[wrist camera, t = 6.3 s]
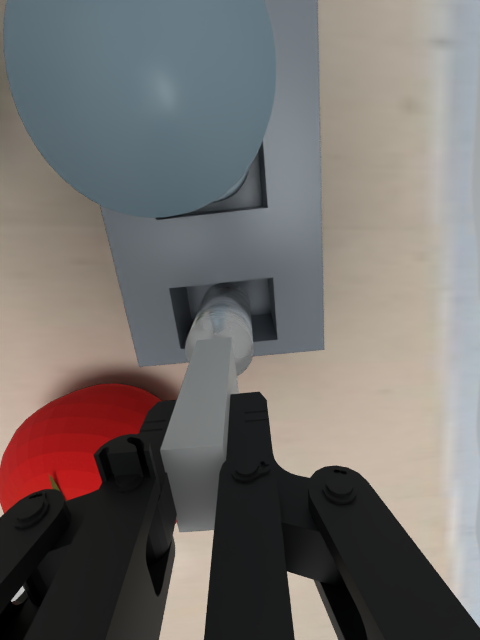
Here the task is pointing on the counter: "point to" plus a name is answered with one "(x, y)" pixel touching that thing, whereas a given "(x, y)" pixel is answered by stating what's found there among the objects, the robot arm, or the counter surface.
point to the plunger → (224, 322)
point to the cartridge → (144, 95)
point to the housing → (241, 226)
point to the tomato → (69, 441)
